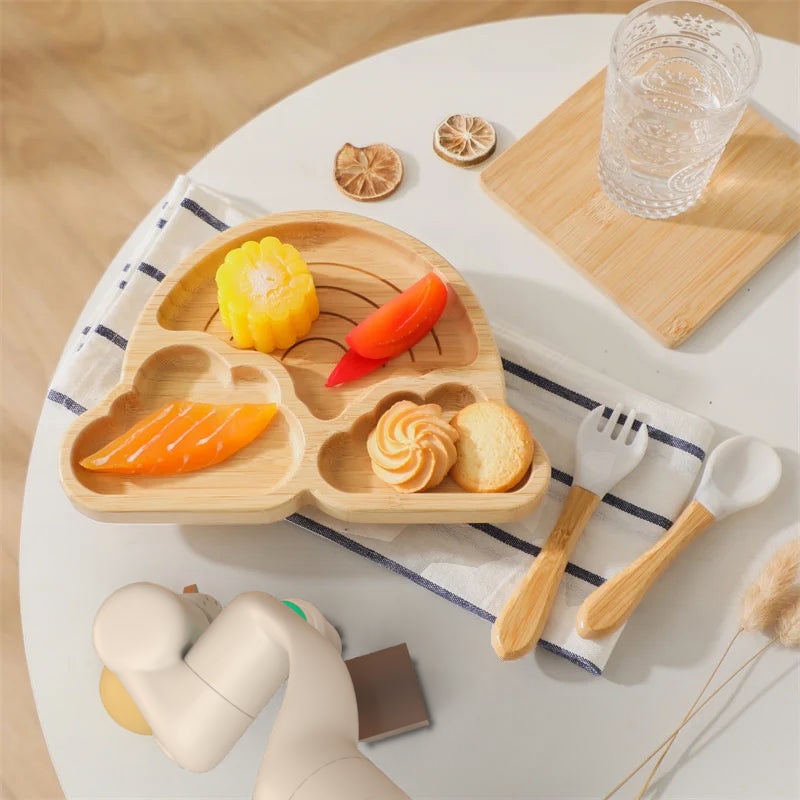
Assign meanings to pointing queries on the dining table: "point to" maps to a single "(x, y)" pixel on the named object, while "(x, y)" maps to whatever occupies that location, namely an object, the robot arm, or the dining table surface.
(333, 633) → the water bottle
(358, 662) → the stand
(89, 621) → the dining table surface
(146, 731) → the sculpture
